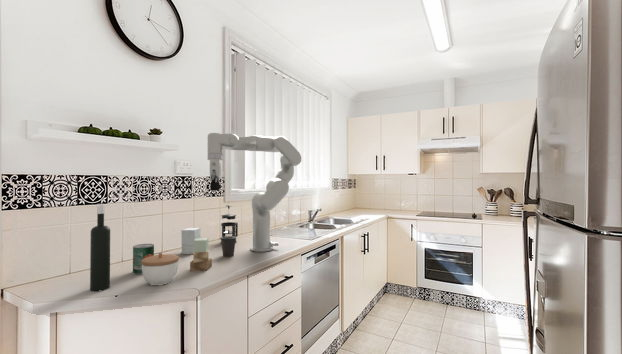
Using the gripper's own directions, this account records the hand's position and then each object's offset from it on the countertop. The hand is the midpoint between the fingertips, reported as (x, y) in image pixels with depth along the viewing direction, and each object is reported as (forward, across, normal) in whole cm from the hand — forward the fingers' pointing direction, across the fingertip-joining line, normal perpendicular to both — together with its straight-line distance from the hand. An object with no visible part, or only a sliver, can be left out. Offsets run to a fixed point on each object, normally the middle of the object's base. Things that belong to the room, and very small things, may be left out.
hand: (215, 190), depth 157 cm
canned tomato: (+34, -24, +26) cm, 49 cm away
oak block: (+30, -24, +3) cm, 38 cm away
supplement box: (+34, +8, +13) cm, 37 cm away
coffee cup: (+34, -3, -7) cm, 34 cm away
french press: (+34, +31, -5) cm, 46 cm away
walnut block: (+34, -24, +3) cm, 41 cm away
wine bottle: (+34, -43, +34) cm, 64 cm away
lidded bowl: (+34, -40, +15) cm, 54 cm away
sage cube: (+26, -24, +3) cm, 35 cm away
